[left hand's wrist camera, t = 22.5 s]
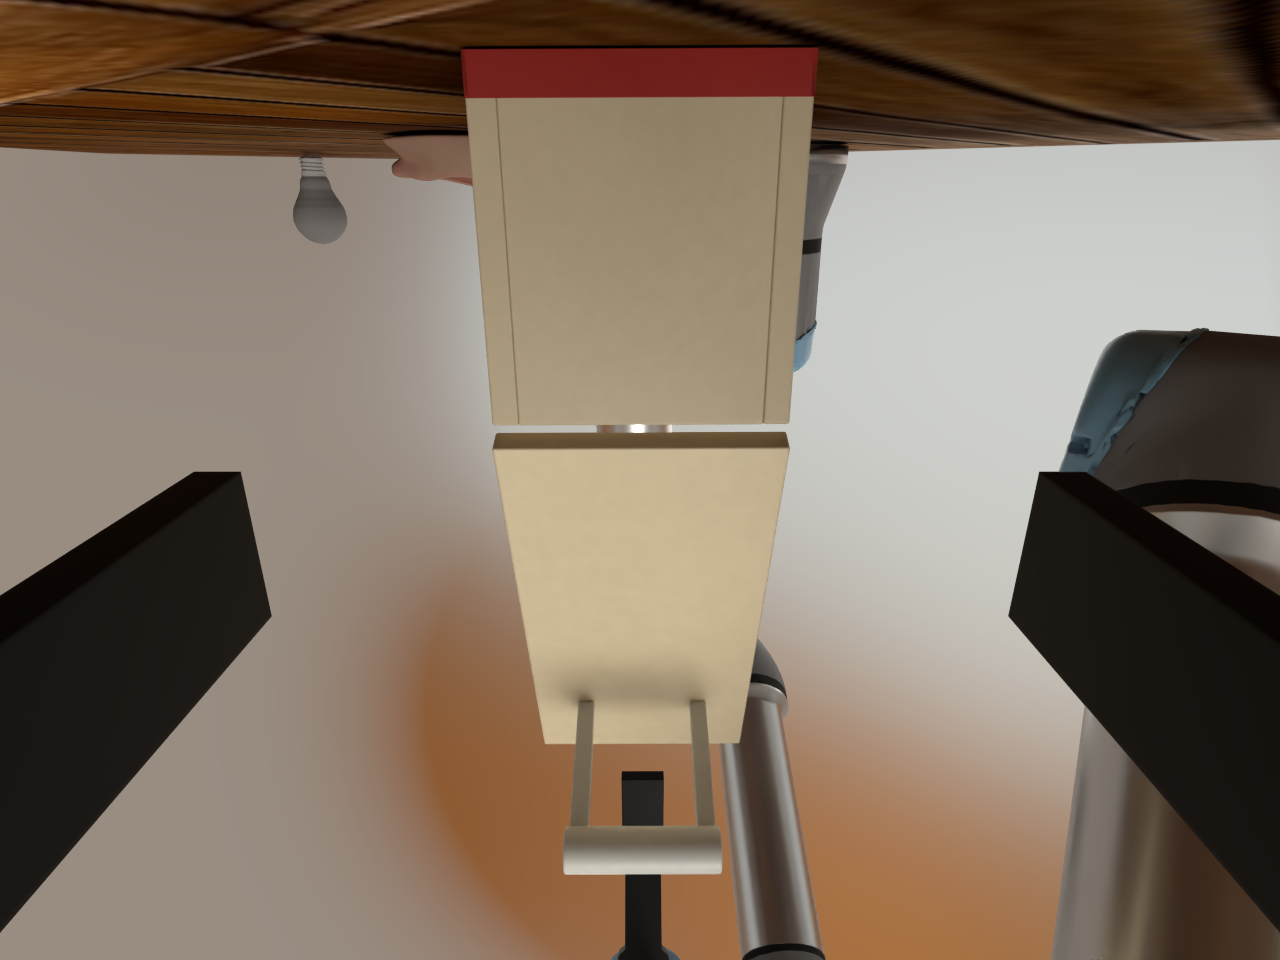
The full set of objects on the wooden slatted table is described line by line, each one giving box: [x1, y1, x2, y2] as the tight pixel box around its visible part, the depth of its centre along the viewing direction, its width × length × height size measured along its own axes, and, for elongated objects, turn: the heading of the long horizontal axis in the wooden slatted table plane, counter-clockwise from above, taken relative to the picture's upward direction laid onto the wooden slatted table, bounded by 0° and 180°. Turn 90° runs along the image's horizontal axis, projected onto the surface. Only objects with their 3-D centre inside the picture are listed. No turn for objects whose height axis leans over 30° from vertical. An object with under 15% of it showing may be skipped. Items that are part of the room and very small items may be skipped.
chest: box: [461, 47, 819, 425], centre depth 29 cm, size 17×9×10 cm, turn 0°
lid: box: [492, 432, 790, 875], centre depth 27 cm, size 18×9×8 cm
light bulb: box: [293, 154, 347, 244], centre depth 88 cm, size 6×6×10 cm
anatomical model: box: [383, 134, 473, 186], centre depth 57 cm, size 13×4×12 cm
